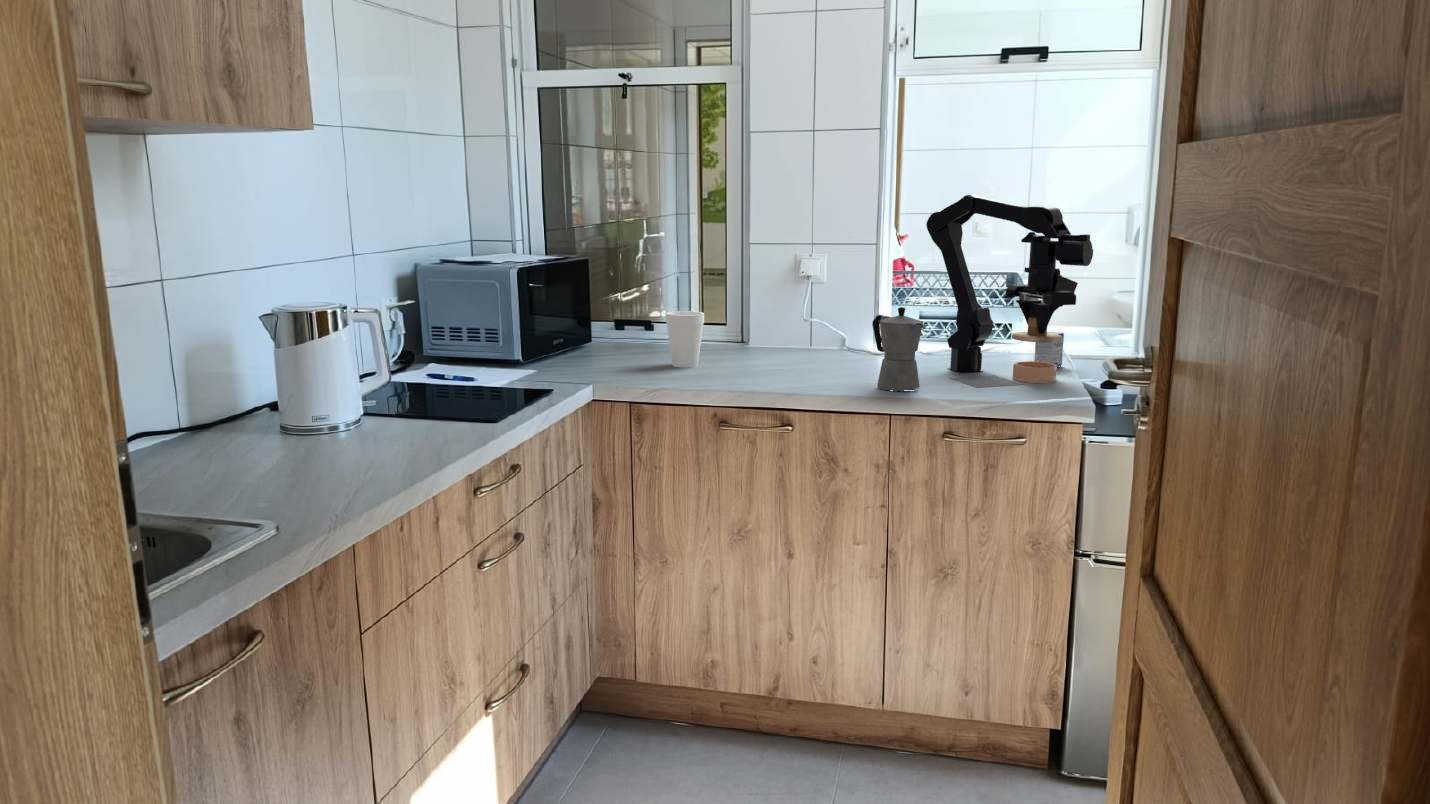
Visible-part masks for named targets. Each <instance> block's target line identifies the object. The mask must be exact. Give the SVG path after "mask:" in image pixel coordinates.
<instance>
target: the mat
mask: <svg viewBox="0 0 1430 804" xmlns="http://www.w3.org/2000/svg"><path fill="white" fill-rule="evenodd" d="M949 379H950V380H953V381H956V382H959V383H962V384H964V385H968V386H971V387H974V388H977V389H978V388H979V389H980V388H984V389H985V388H996V387H997V388H998V387H1010V386H1011V387H1012V386H1015V387H1016V386H1025V384H1024V383H1022V382H1021V383H1020V382H1019V381H1015V380H1012V379H1008V378H1004V377H1002V376H998V375H995V374H994V375H976V376H975V375H974V376H958V377H949Z"/></svg>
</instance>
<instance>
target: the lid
mask: <svg viewBox="0 0 1430 804" xmlns="http://www.w3.org/2000/svg"><path fill="white" fill-rule="evenodd" d="M1047 332H1048V327H1047V328H1046V330H1045V333H1044V334H1039V330H1038V326H1037V320H1036V317H1029V319H1028V324H1027V331H1019V332H1017V331H1016V332H1013V333H1011V339H1013V340H1015V341H1021V342H1029V343H1035V342H1059V341H1062V336H1061V335H1058V334H1052V333H1047Z"/></svg>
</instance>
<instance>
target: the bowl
mask: <svg viewBox="0 0 1430 804" xmlns="http://www.w3.org/2000/svg"><path fill="white" fill-rule="evenodd" d="M1012 365H1013V367H1012V368H1013V369H1012V380H1014V381H1016V382H1021V383H1029V384H1050V383H1051V384H1053V383H1054V382H1056V381H1057V373H1058V372H1057V371H1058V368H1057V365H1055V364H1051V363H1047V362H1035V361H1032V360H1028V361H1027V360H1026V361H1016V362H1014V363H1013V364H1012Z"/></svg>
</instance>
